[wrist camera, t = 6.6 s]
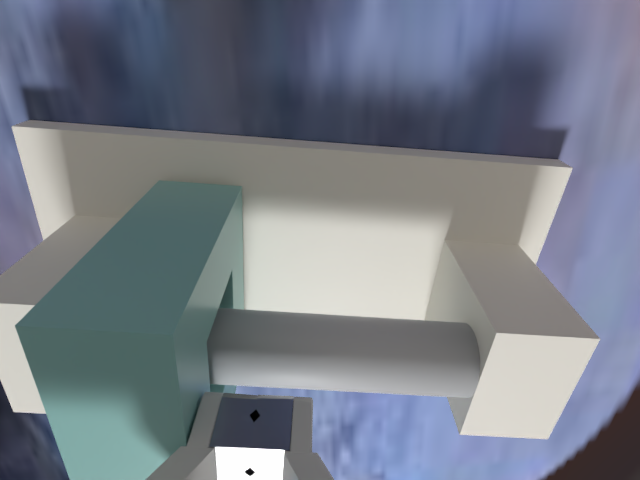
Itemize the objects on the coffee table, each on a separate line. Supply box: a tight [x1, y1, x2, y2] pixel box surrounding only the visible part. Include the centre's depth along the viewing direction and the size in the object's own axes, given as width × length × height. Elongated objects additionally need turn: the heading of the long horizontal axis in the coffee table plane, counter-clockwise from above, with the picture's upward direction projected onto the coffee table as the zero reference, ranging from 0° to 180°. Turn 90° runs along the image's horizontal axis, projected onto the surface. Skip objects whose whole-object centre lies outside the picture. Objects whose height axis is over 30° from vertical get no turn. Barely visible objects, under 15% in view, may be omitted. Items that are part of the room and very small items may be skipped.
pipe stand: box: [0, 120, 600, 439], centre depth 15 cm, size 20×11×7 cm, turn 86°
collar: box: [15, 180, 244, 480], centre depth 13 cm, size 3×8×8 cm, turn 176°
